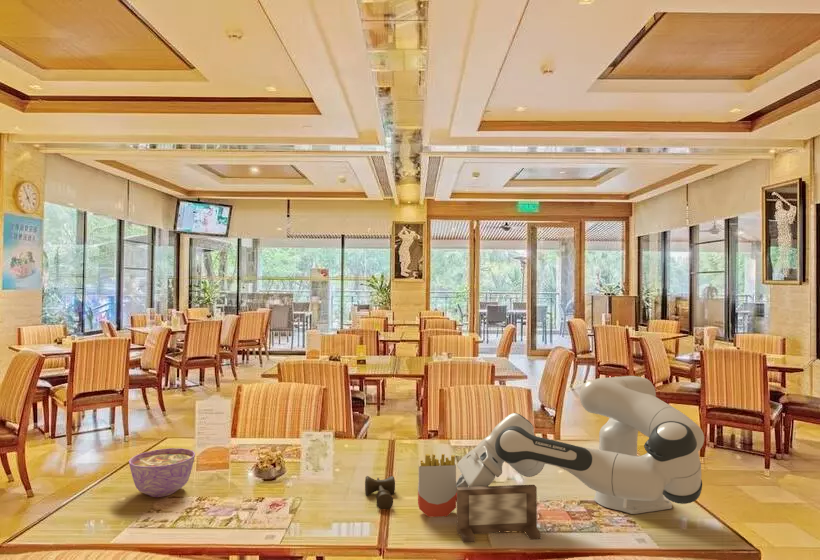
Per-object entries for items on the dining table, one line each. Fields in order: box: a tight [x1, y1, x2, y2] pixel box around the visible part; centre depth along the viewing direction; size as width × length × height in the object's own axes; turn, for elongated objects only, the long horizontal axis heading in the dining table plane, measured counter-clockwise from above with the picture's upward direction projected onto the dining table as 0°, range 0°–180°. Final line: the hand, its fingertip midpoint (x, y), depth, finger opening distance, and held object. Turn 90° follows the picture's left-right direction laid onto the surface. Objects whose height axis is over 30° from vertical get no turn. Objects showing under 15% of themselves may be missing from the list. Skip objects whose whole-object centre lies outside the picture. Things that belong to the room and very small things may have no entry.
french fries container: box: [417, 453, 457, 518], centre depth 162 cm, size 5×11×18 cm, turn 95°
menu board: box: [456, 484, 542, 544], centre depth 148 cm, size 22×7×12 cm, turn 96°
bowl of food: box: [128, 447, 196, 498], centre depth 179 cm, size 20×20×12 cm
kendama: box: [364, 475, 396, 510], centre depth 174 cm, size 6×10×20 cm
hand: (455, 490), depth 162 cm, fingers closed, pressing on french fries container
